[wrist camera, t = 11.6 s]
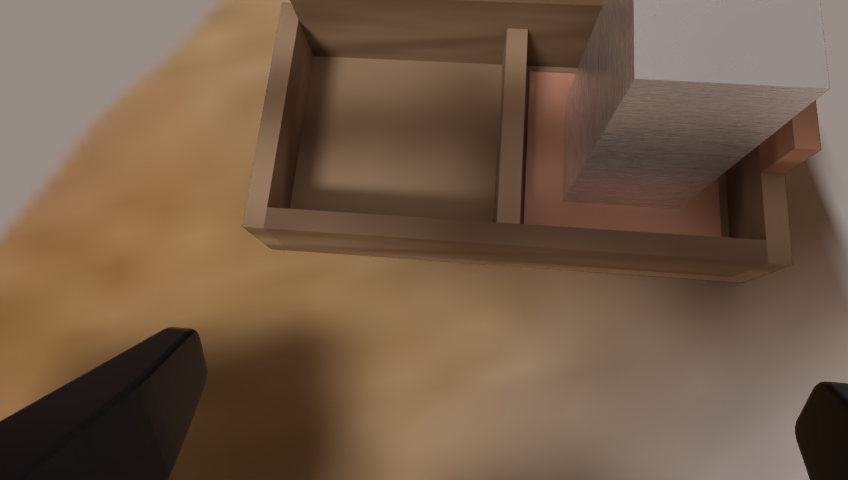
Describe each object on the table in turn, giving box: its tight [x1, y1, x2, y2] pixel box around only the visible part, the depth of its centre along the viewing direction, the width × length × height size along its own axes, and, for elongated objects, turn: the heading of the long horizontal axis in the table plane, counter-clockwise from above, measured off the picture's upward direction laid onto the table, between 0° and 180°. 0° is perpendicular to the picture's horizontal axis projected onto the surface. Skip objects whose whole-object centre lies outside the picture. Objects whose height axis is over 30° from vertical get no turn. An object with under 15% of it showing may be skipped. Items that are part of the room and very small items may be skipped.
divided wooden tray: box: [242, 0, 821, 283], centre depth 21 cm, size 10×19×5 cm, turn 85°
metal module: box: [563, 0, 830, 209], centre depth 18 cm, size 4×4×9 cm
